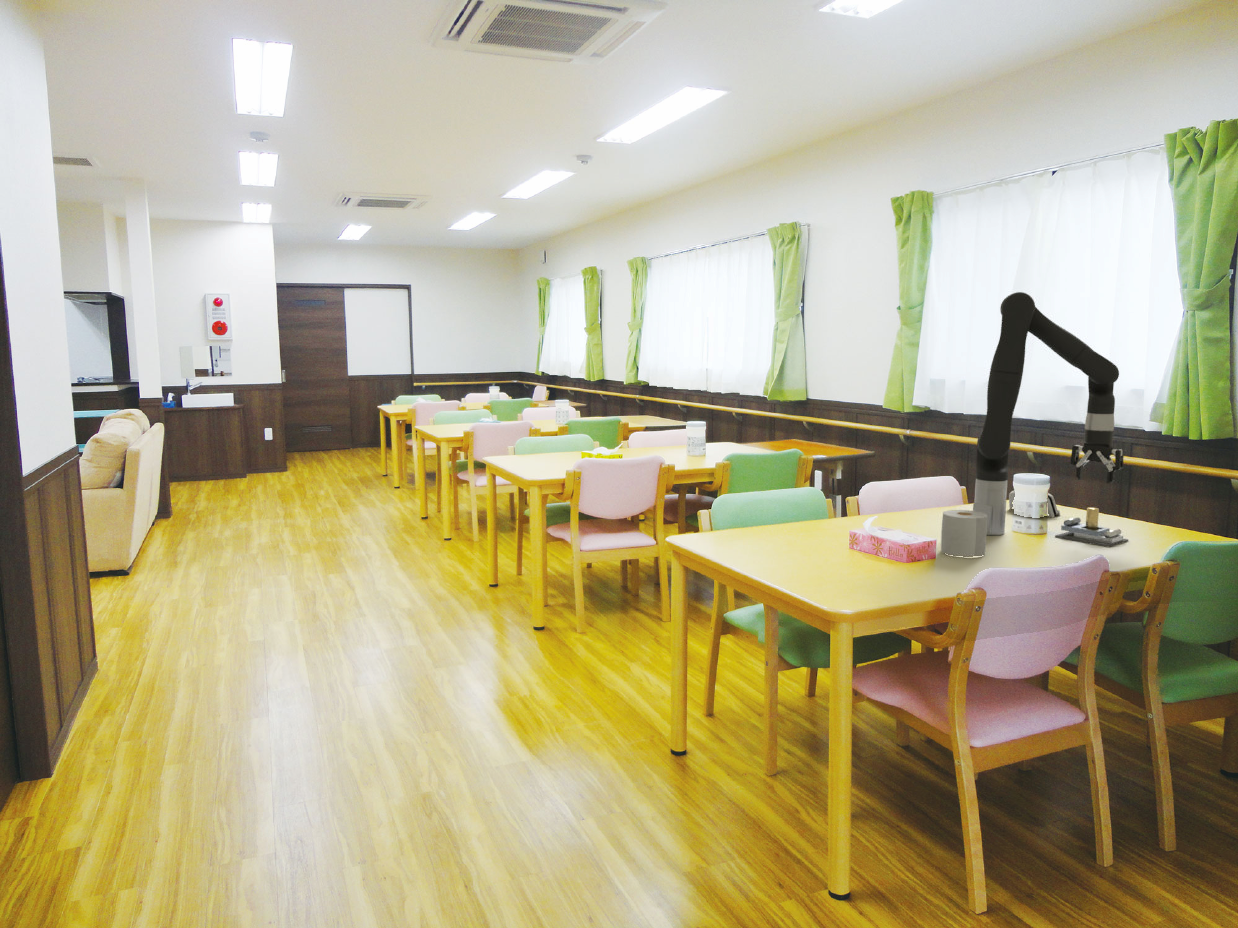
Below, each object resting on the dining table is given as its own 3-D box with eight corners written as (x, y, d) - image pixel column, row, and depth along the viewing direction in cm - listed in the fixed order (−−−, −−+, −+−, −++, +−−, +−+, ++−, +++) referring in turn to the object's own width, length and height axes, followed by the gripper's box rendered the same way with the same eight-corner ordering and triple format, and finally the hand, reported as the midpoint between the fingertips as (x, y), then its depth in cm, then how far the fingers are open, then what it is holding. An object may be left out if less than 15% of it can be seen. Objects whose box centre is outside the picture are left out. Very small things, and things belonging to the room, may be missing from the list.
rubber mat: (1109, 547, 242) (1109, 545, 241) (1054, 536, 254) (1055, 535, 254) (1128, 541, 248) (1128, 539, 248) (1074, 531, 261) (1074, 530, 261)
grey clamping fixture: (1111, 543, 243) (1113, 528, 243) (1060, 534, 255) (1061, 519, 255) (1122, 540, 247) (1124, 524, 247) (1072, 531, 259) (1073, 516, 259)
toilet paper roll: (955, 559, 230) (957, 519, 228) (932, 549, 242) (934, 510, 240) (994, 557, 232) (996, 517, 230) (969, 547, 244) (971, 508, 242)
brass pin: (1093, 539, 249) (1095, 510, 248) (1083, 537, 252) (1084, 508, 250) (1098, 537, 251) (1100, 508, 250) (1088, 535, 254) (1089, 507, 252)
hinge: (1061, 515, 285) (1057, 490, 282) (1053, 521, 283) (1049, 495, 280) (1017, 507, 300) (1013, 483, 297) (1009, 513, 298) (1005, 488, 295)
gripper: (1068, 427, 250) (1064, 479, 253) (1118, 431, 239) (1113, 485, 241) (1081, 425, 254) (1077, 477, 257) (1130, 429, 243) (1125, 483, 245)
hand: (1094, 481), depth 249 cm, fingers open, 8 cm apart
